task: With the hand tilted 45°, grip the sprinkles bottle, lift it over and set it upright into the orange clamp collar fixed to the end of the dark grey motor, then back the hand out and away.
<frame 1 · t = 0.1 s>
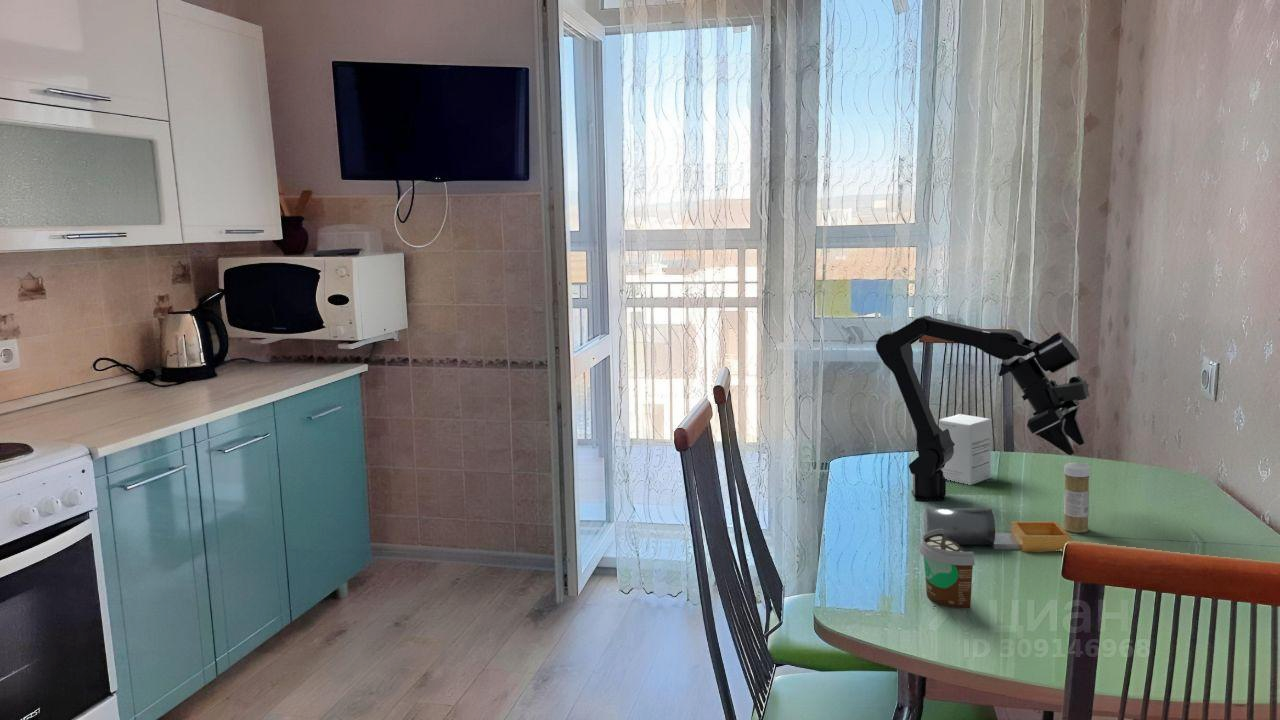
hand: (1077, 449, 178), 15 cm above the table, tool tilted 35°, fingers open, 9 cm apart
supplement box: (964, 479, 212), on the table
motor: (996, 543, 169), on the table
food container: (939, 599, 146), on the table
sprinkles bottle: (1075, 530, 174), on the table
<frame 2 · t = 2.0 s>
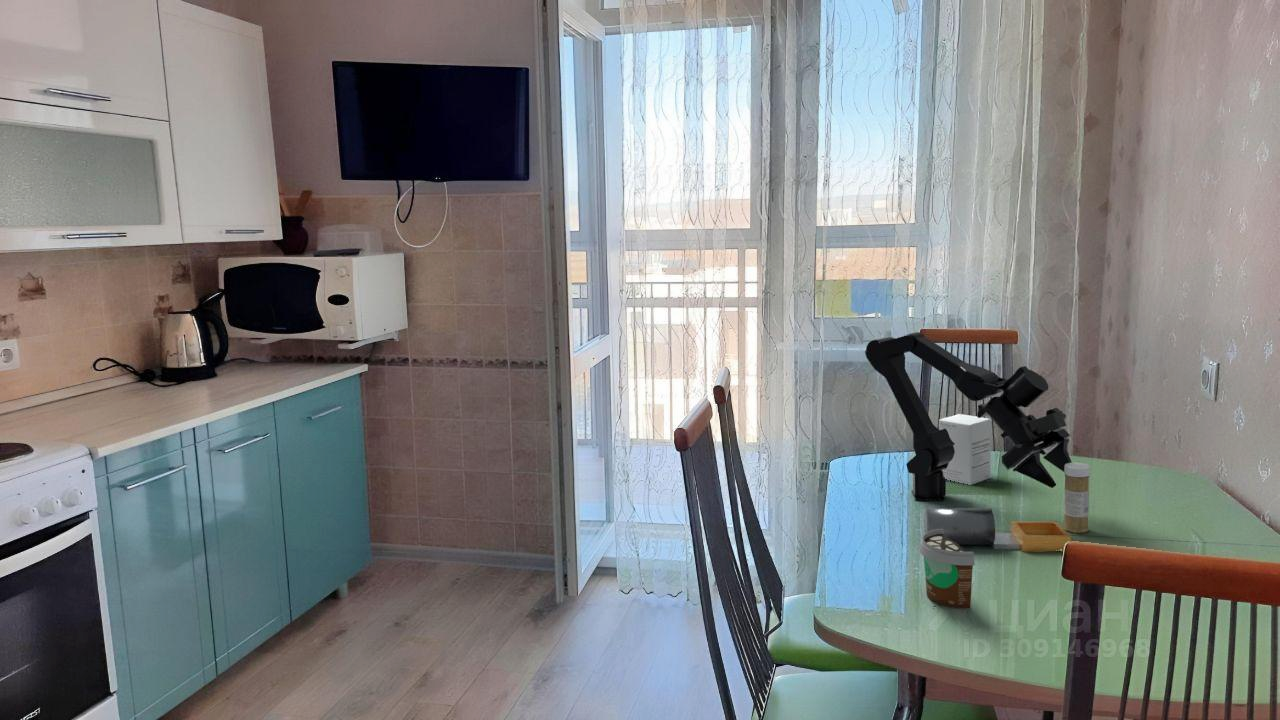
hand: (1065, 481, 174), 10 cm above the table, tool tilted 45°, fingers open, 9 cm apart
nothing on the table moved.
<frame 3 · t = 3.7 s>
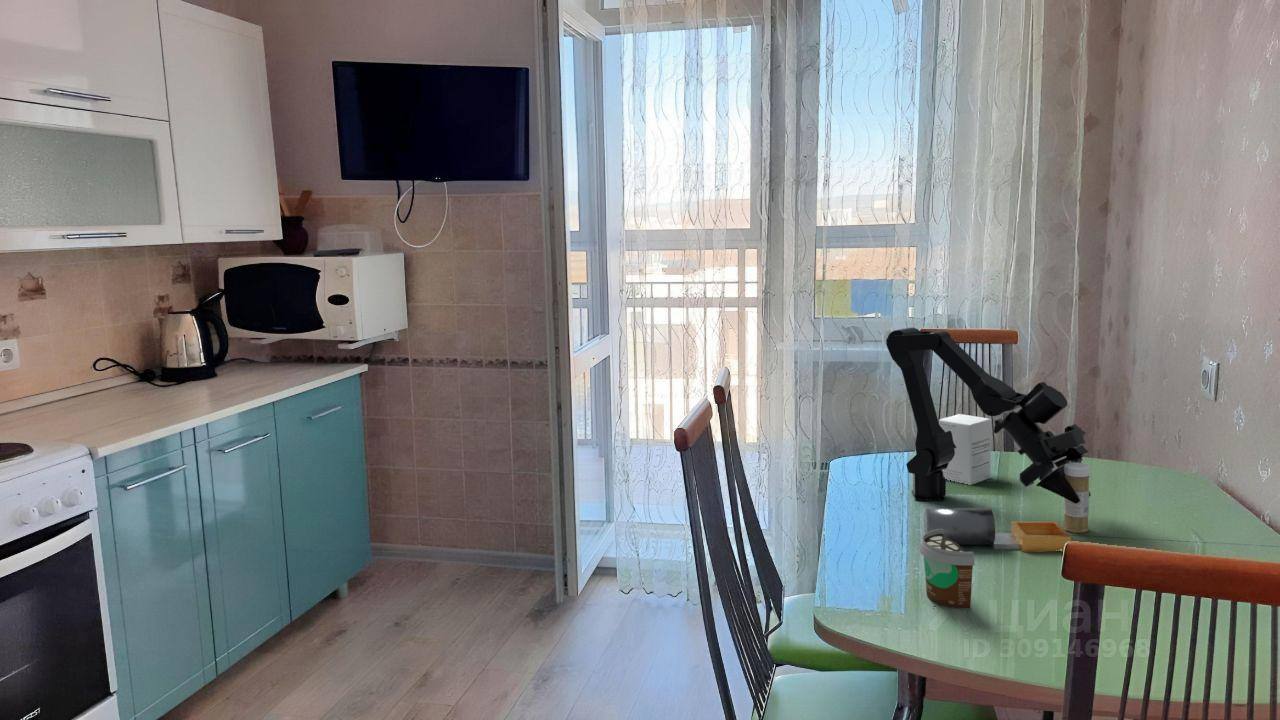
hand: (1083, 499, 172), 7 cm above the table, tool tilted 45°, fingers closed on sprinkles bottle, 4 cm apart
sprinkles bottle: (1075, 530, 174), on the table, touching gripper
everything else where it was.
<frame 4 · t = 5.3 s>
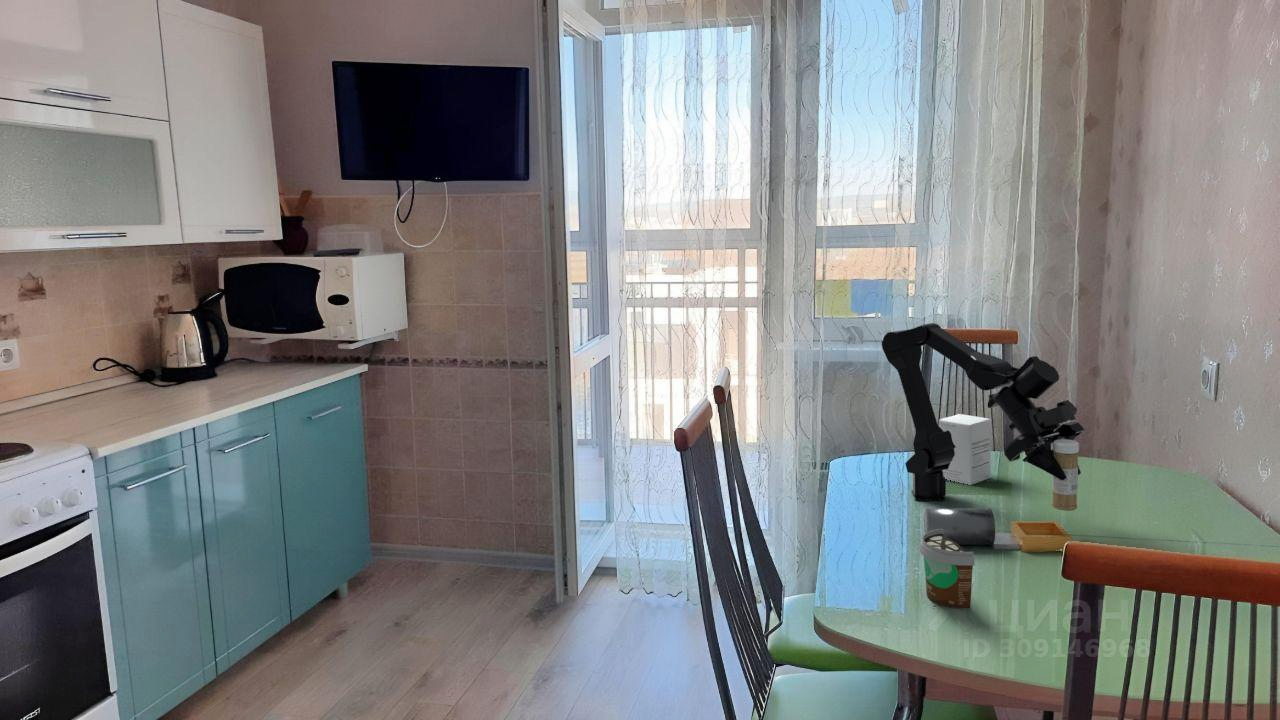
hand: (1071, 476, 168), 12 cm above the table, tool tilted 45°, fingers closed on sprinkles bottle, 4 cm apart
sprinkles bottle: (1064, 508, 170), point 5 cm above the table, touching gripper
everything else where it was.
when the fingers open (8 cm above the table, at t = 7.3 s): sprinkles bottle drops 1 cm, resting in motor.
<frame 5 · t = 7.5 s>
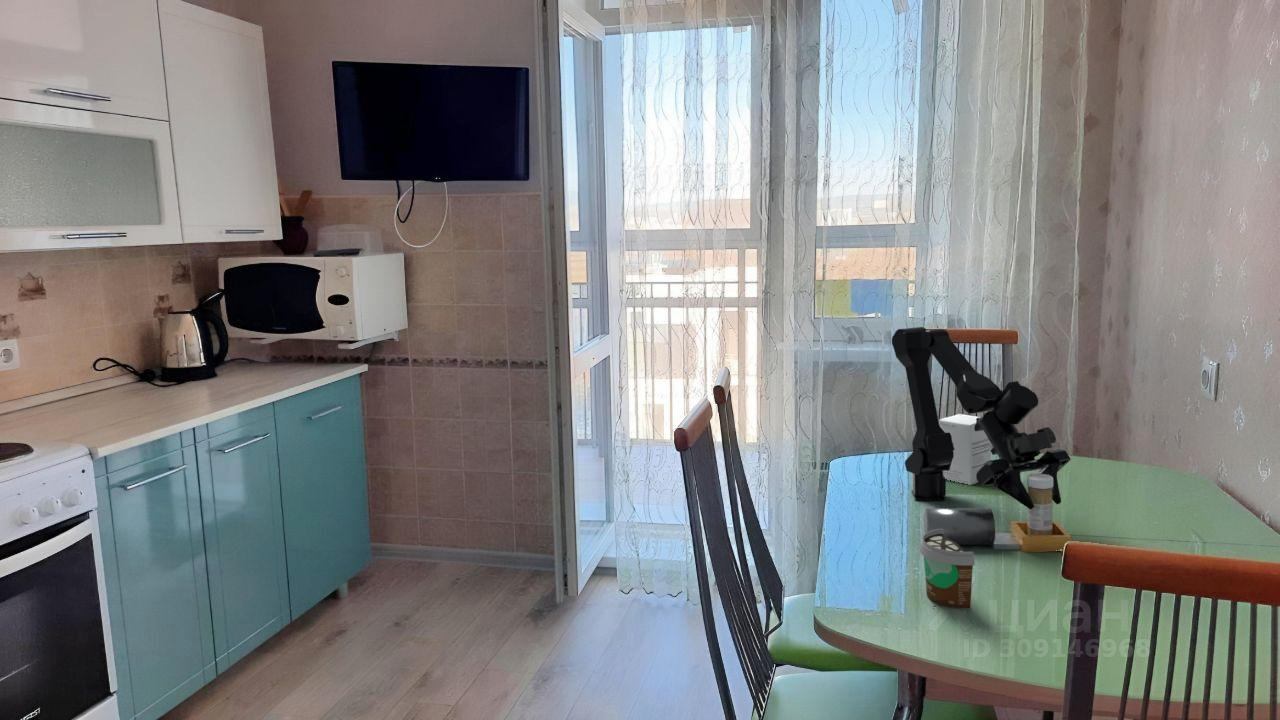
hand: (1045, 505, 165), 8 cm above the table, tool tilted 45°, fingers open, 6 cm apart
sprinkles bottle: (1039, 544, 168), resting in motor
everything else where it was.
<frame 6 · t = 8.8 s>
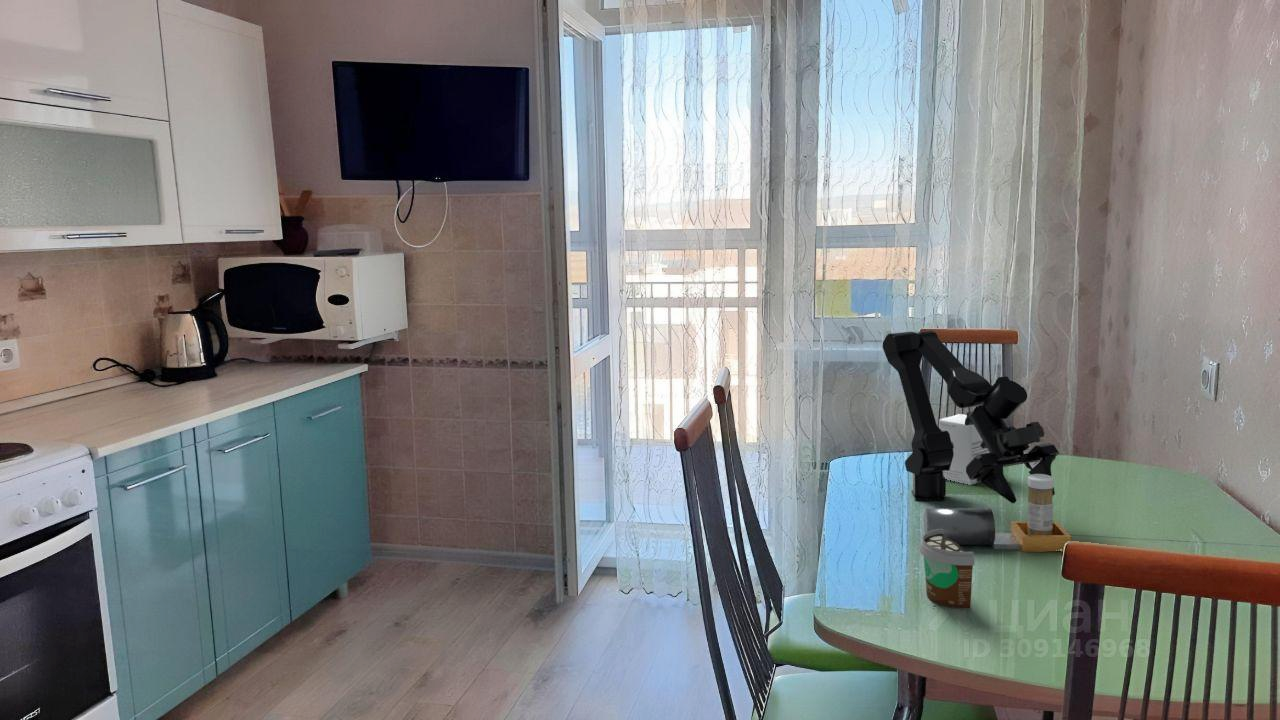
hand: (1034, 498, 168), 9 cm above the table, tool tilted 45°, fingers open, 9 cm apart
nothing on the table moved.
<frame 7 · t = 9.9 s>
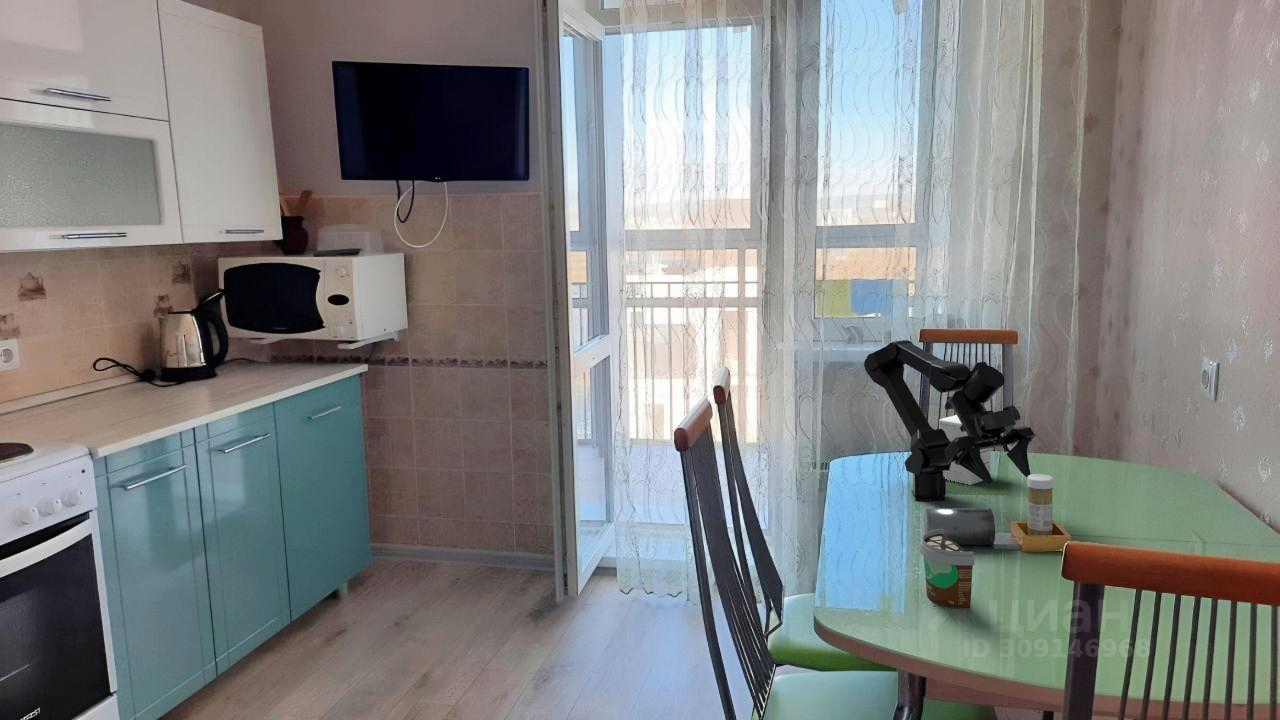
hand: (1010, 479, 174), 11 cm above the table, tool tilted 45°, fingers open, 9 cm apart
nothing on the table moved.
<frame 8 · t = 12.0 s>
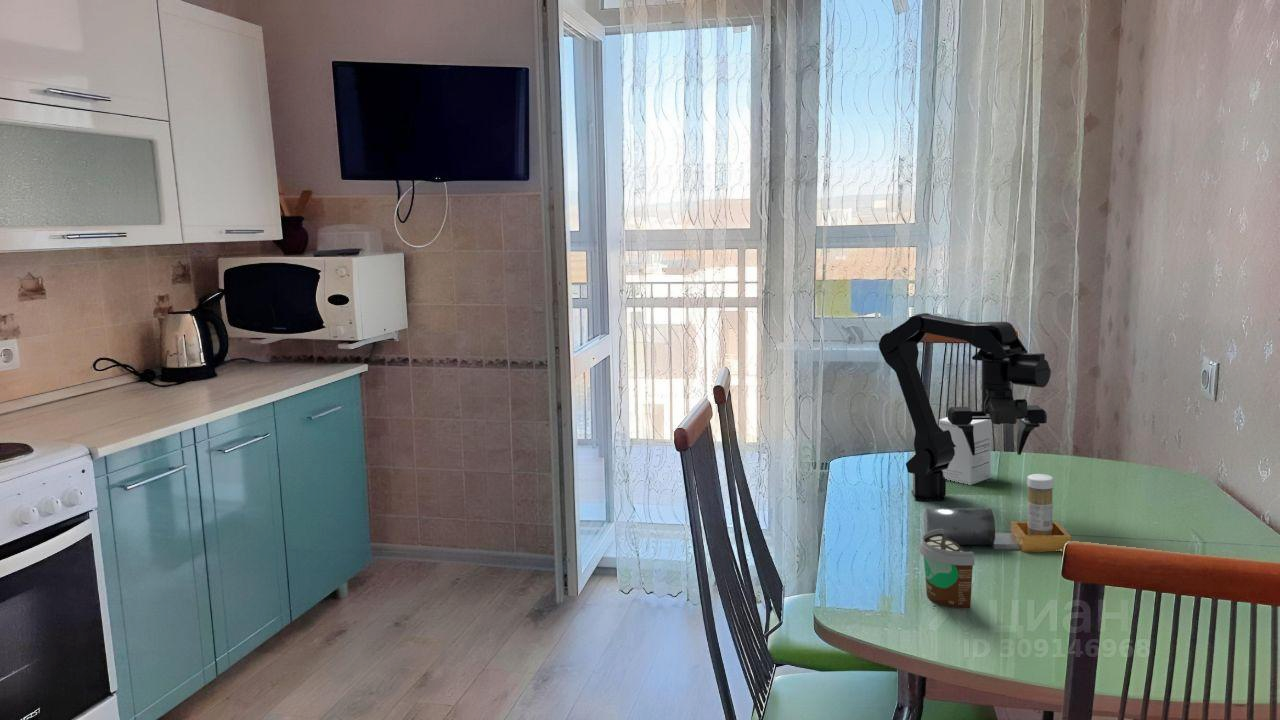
hand: (995, 454, 184), 13 cm above the table, tool pointing down, fingers open, 9 cm apart
nothing on the table moved.
at the end: sprinkles bottle 0.1 cm from the target spot on the motor, point 0.0 cm above the motor's base; sprinkles bottle tilted 0°; the gripper is holding nothing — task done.
